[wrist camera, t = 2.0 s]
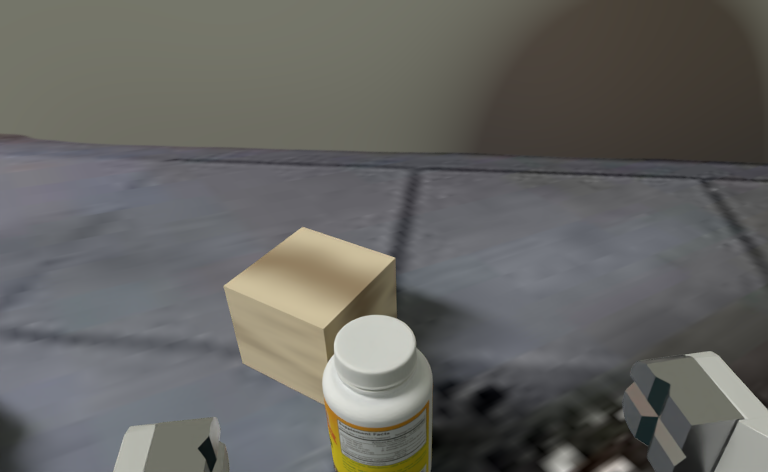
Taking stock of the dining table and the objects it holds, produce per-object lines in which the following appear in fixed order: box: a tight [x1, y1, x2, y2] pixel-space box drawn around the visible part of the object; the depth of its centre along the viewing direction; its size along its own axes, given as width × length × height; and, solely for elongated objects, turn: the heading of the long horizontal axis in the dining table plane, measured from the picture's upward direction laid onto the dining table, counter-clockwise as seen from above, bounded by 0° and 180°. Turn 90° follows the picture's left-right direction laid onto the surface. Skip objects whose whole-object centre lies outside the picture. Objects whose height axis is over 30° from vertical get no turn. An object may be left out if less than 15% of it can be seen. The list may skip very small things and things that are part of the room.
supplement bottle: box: [322, 315, 433, 472], centre depth 29 cm, size 6×6×10 cm
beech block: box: [224, 227, 397, 405], centre depth 38 cm, size 8×8×7 cm
